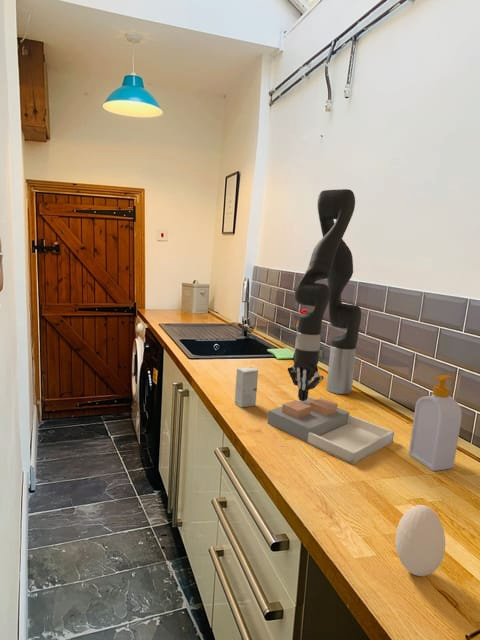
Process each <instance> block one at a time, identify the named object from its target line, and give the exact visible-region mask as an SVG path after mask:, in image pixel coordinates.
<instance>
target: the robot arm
mask: <svg viewBox="0 0 480 640" xmlns="http://www.w3.org/2000/svg"><path fill="white" fill-rule="evenodd" d="M355 209H356V197H355V194H354V192H353V191H352V190H351V189H346V188H345V189H344V188H343V189H342V188H341V189H324V190H321V192H319V195H318V198H317V212H318V213H317V214H318V219H319V224H320V229H321V235H322V238H321V239H320V240H319V241H318V242H317V243H316V245H315V246H314V248H313V250H312V253H311V257H310V259H309V264H308V266H307V269H306V271H305V273H304V274H303V275H302V278H301V279H300V280H299V282H298V283H297V286H296V288H295V290H294V299H295V301H296V303H297V304H299V305H302V306H310V307H314V309H313V311H312V312H304V313H301V314H300V315H299V316H298V322H297V323H298V324H297V333H296V337H295V347H294V356H293V357H294V358H293V360H294V362H293V366H291V367H288V368H287V372H288V374H289V377H290V379H291V380H292V381H291V382H292V383H293V385H294V386H297V389H298V395H297V398H298V401H300V400H301V401H306V399H307V398H309V391H310V390H313V389H315V388H316V387H317V386H318V385H319V384H320V383H321V382H323V380H324V376H323V375H321V374H320V373H319V368H318V364H319V359H320V349H321V331H322V324H323V323H322V321H323V318H324V315H325V312H326V309H327V307H328V318H329V322H330V325H331V326H332V327H334V328H338V329H343V330H346V333H345V334H343V335H339V336H334V337H332V338H331V340H330V348H329V358H328V359H329V360H328V361H329V362H328V369H327V379H326V388H325V389H326V390H327V391H328V392H330V393H333V394H337V395H349V394H351V392H352V390H353V383H354V376H355V359H356V351H357V343H358V339H359V333H360V327H361V321H362V309H361V307H360V306H359V305H355V304H348V303H343V302H342V293H343V291H344V289H345V288H346V286H347V284H348V283H349V281H350V280H351V278H352V277H353V274H354V259H353V254H352V251H351V249H350V247H349V246H348V245H347V244H346V242H345V240H344V239H343V238H344V236H345V232H346V230H347V229H348V226H349V224H350V221H351V220H352V217H353V214H354V212H355ZM325 279H326V280H327V284H325V283H319V282H318V281H321V280H325ZM316 282H317V283H316Z"/></svg>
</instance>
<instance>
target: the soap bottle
mask: <svg viewBox="0 0 480 640" xmlns="http://www.w3.org/2000/svg"><path fill="white" fill-rule="evenodd" d="M434 379H435V380H437V381H439V384H438V385H433V388H432V389H433V390H432V393H431V395H426V396H425V395H424V396H422V397H419V398H418V399H417V401H416V403H415V406H414V407H415V408H414V414H413V421H412V429H411V434H410V441H409V442H410V443H409V450H408V455H409V456H410V457H411V458H413V459H414V460H416V461H417V462H419V463H420V464H421V465H424V466H425V467H426V468H427V469H429V470H431V471H432V472H438V471H442V470H443V471H445V470H452V469H453V468H454V466H455V460H456V454H457V449H458V442H459V436H460V430H461V422H462V417H463V414H462V408H461V406H460V405H459V403H458V401H456V399H454V398H453V397H451V396H450V388H449V387H447V386H446V380H448V379H452V380H453V381H454V380H455V381H456V380H457V378H456V377H454V376H452V375H448V374H447V375H446V374H441V375H437V376H435V377H434Z"/></svg>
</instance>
